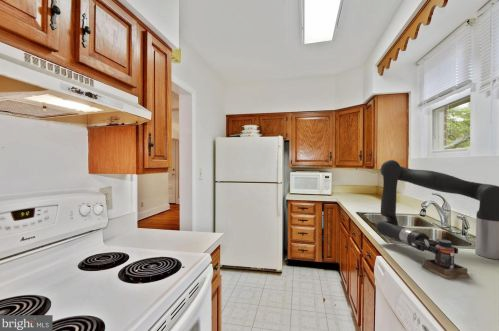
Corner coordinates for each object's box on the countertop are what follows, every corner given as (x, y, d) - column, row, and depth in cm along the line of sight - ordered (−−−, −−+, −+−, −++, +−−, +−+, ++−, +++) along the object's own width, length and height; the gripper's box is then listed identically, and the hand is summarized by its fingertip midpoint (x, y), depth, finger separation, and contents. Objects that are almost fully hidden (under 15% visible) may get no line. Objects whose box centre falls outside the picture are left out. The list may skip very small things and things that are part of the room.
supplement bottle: (457, 273, 93) (458, 244, 93) (439, 271, 94) (440, 242, 94) (448, 266, 99) (449, 239, 99) (431, 265, 100) (432, 237, 100)
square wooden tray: (442, 265, 102) (443, 258, 102) (469, 277, 92) (469, 269, 92) (421, 266, 101) (421, 259, 101) (446, 279, 90) (446, 271, 90)
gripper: (400, 230, 110) (433, 243, 94) (427, 229, 112) (463, 241, 96) (399, 247, 110) (432, 262, 94) (426, 245, 112) (463, 260, 96)
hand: (448, 251), depth 95 cm, fingers open, 8 cm apart
